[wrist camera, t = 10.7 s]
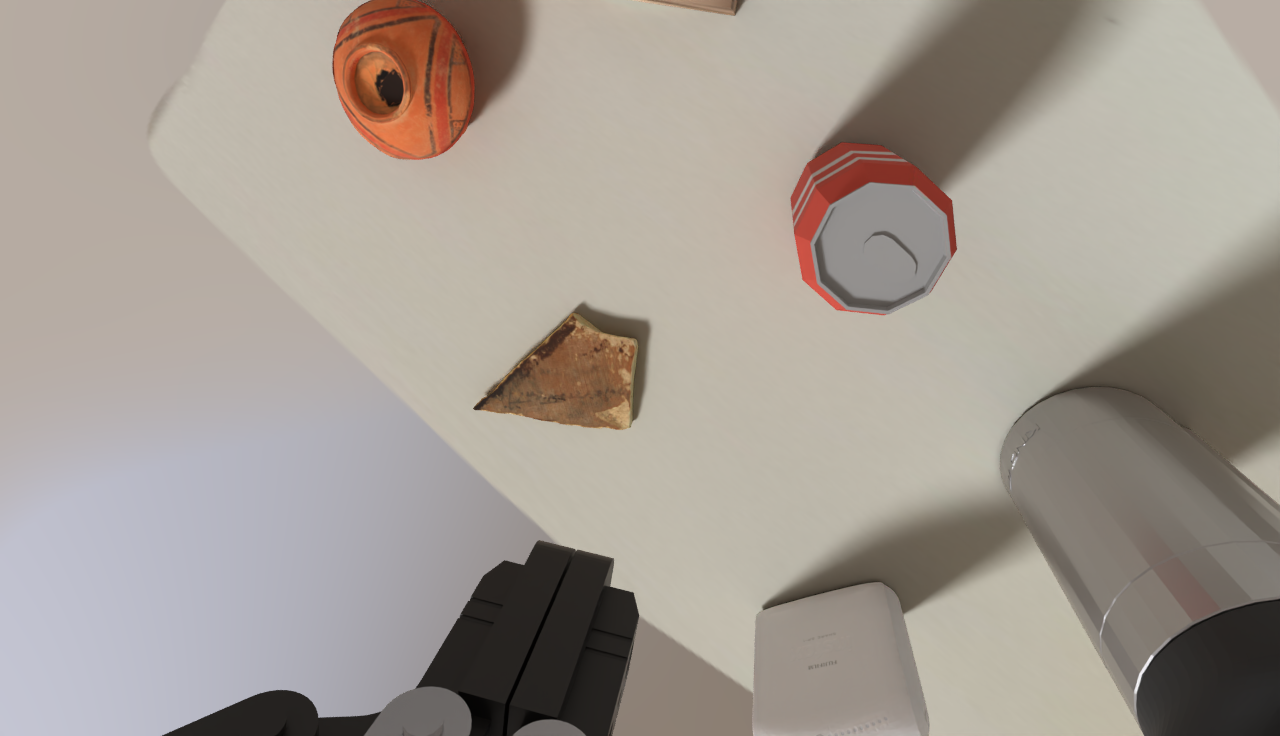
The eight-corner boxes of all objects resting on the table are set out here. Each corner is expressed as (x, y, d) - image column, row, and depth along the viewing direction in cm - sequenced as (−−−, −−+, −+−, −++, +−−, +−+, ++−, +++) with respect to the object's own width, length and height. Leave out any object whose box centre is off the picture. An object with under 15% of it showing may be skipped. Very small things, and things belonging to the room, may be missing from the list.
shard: (481, 400, 47) (470, 411, 45) (479, 295, 44) (467, 303, 42) (634, 424, 45) (628, 437, 44) (643, 317, 42) (637, 326, 41)
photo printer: (888, 570, 45) (925, 730, 34) (910, 618, 47) (951, 788, 35) (746, 606, 49) (737, 762, 38) (769, 650, 50) (767, 814, 39)
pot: (532, 80, 37) (466, 108, 32) (456, 165, 42) (387, 201, 36) (430, -47, 35) (342, -40, 30) (362, 56, 40) (275, 78, 35)
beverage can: (850, 279, 38) (879, 356, 28) (767, 204, 38) (763, 254, 27) (935, 197, 36) (1003, 246, 25) (848, 115, 35) (880, 130, 24)
